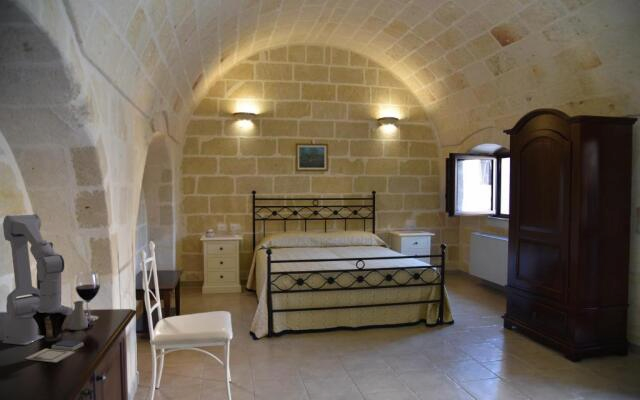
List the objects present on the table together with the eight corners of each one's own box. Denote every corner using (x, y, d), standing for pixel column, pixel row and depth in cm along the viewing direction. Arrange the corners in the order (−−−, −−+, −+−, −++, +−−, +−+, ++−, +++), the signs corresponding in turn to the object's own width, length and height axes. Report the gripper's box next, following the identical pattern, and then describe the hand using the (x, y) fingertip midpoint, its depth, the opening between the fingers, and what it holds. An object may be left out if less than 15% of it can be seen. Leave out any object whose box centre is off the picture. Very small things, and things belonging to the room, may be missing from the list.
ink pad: (51, 348, 145) (51, 344, 145) (62, 343, 150) (62, 339, 150) (72, 351, 144) (72, 347, 144) (83, 345, 149) (83, 341, 149)
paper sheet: (25, 359, 137) (25, 357, 137) (45, 349, 145) (45, 348, 145) (55, 362, 135) (55, 361, 135) (74, 352, 143) (74, 351, 143)
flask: (79, 331, 162) (80, 305, 161) (63, 329, 163) (63, 303, 163) (93, 325, 169) (93, 300, 169) (77, 323, 170) (77, 298, 170)
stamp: (42, 340, 139) (40, 320, 138) (52, 334, 143) (50, 315, 142) (54, 341, 138) (52, 321, 137) (64, 335, 142) (62, 315, 142)
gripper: (20, 294, 136) (20, 337, 137) (60, 298, 134) (60, 341, 134) (38, 289, 143) (38, 329, 144) (77, 292, 141) (77, 333, 141)
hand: (50, 335), depth 140 cm, fingers closed on stamp, 4 cm apart
